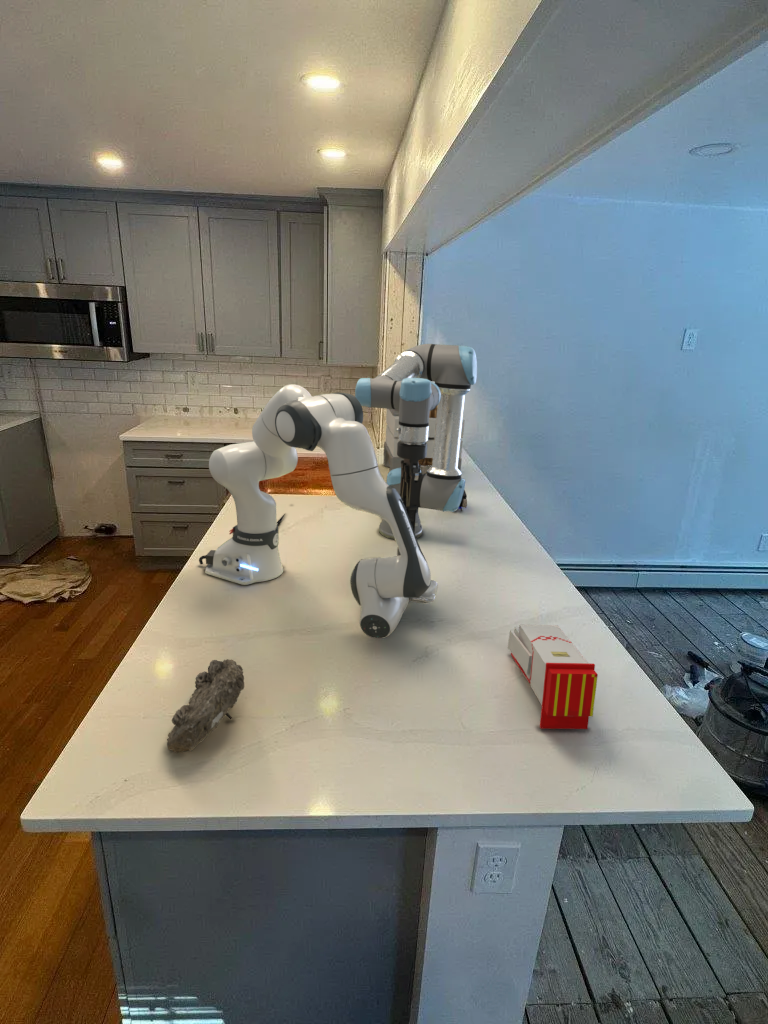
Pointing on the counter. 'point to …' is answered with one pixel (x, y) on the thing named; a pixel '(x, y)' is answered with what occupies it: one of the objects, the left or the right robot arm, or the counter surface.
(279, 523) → the feather
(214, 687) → the grey elongated lump
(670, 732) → the counter surface
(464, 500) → the figurine character
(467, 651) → the counter surface
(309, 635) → the counter surface
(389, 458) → the transformer
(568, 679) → the toy
